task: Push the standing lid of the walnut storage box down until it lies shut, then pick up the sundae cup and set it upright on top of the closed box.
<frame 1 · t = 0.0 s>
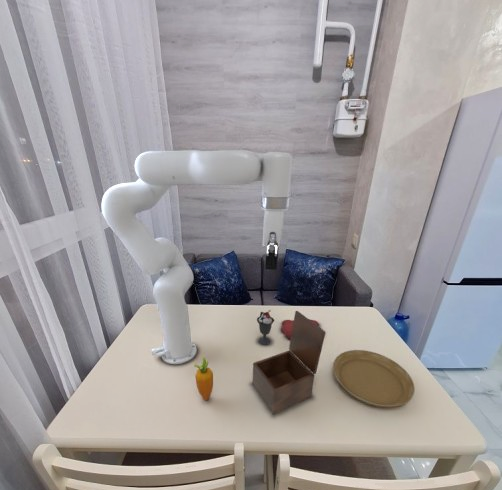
hand: (272, 263, 78), 37 cm above the table, tool pointing down, fingers open, 9 cm apart
sundae: (264, 341, 105), on the table
patty: (301, 330, 112), on the table
lid: (305, 341, 78), point 16 cm above the table, hinge at 95.0°
container: (281, 390, 82), on the table
carrot: (206, 400, 78), on the table
plant saucer: (369, 382, 86), on the table
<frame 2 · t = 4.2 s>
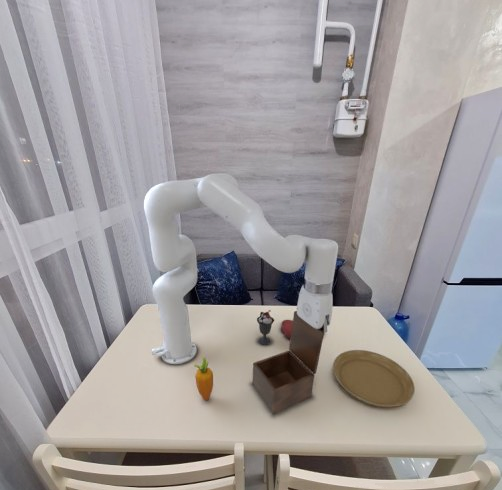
hand: (310, 340, 79), 16 cm above the table, tool pointing down, fingers closed
lid: (304, 341, 78), point 16 cm above the table, hinge at 93.0°, touching gripper
everything else where it was.
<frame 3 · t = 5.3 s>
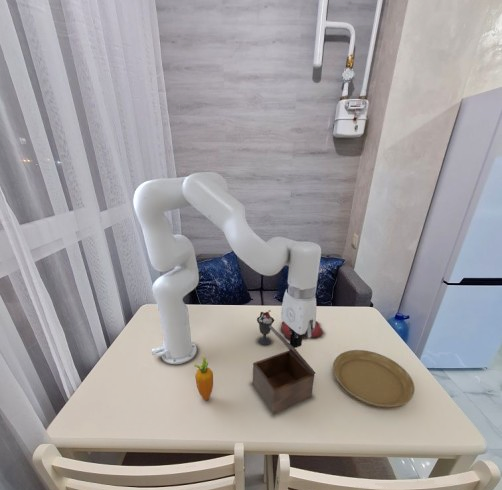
hand: (295, 345, 77), 16 cm above the table, tool pointing down, fingers closed
lid: (291, 349, 77), point 15 cm above the table, hinge at 54.1°, touching gripper
everything else where it was.
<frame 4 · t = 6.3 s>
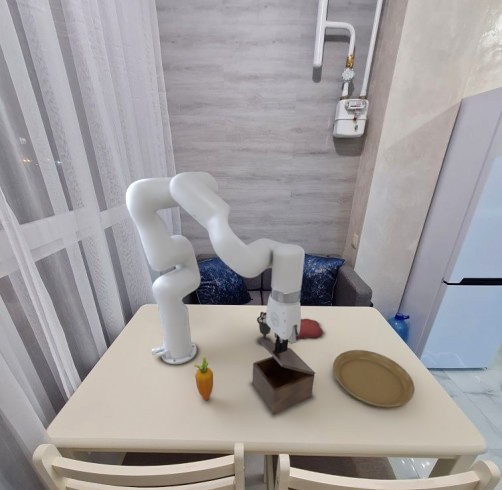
hand: (281, 350, 75), 16 cm above the table, tool pointing down, fingers closed
lid: (286, 356, 77), point 13 cm above the table, hinge at 33.9°, touching gripper
everything else where it was.
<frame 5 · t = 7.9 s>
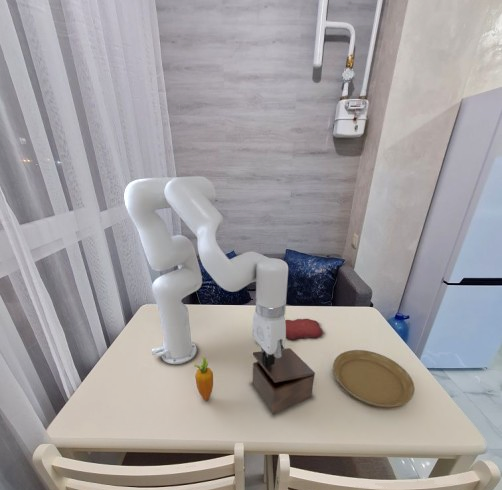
hand: (268, 364, 74), 13 cm above the table, tool pointing down, fingers closed
lid: (283, 363, 77), point 11 cm above the table, hinge at 13.6°, touching gripper
everything else where it was.
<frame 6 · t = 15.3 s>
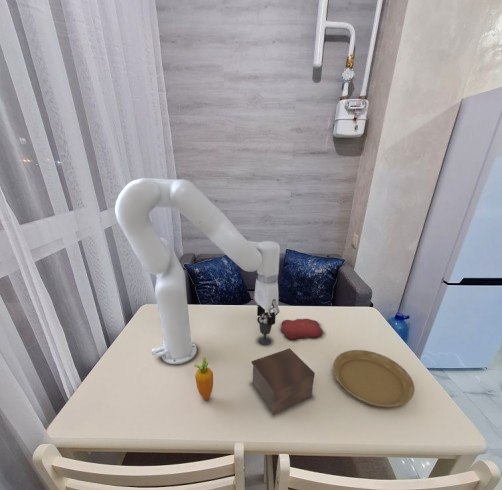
hand: (265, 319, 100), 10 cm above the table, tool pointing down, fingers closed on sundae, 6 cm apart
sundae: (264, 341, 105), on the table, touching gripper
lid: (282, 367, 78), point 9 cm above the table, hinge at 0.2°
everything else where it was.
when the fingers open (20 cm above the table, at t = 22.2 s): sundae stays where it is, resting on lid.
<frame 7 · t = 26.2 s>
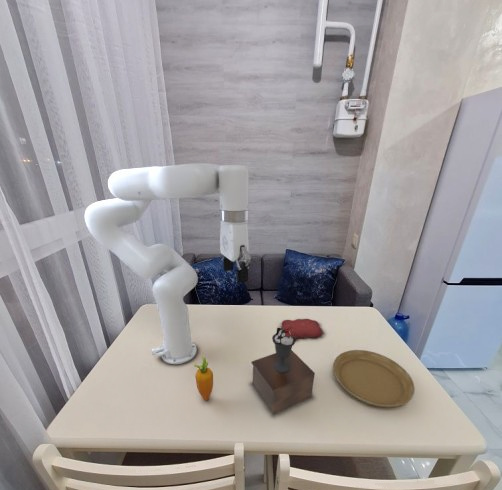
hand: (235, 275, 77), 34 cm above the table, tool pointing down, fingers open, 9 cm apart
sundae: (282, 367, 78), point 9 cm above the table, touching lid
lid: (282, 368, 78), point 9 cm above the table, hinge at -0.2°, touching container, sundae
everything else where it was.
at the end: lid at +0° (first picture: +95°); sundae inside the target area on the container (0.3 cm from its centre), point 9.4 cm above the container's base; sundae tilted 0° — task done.
